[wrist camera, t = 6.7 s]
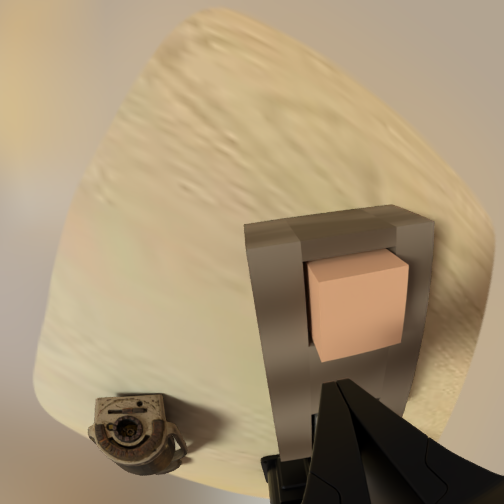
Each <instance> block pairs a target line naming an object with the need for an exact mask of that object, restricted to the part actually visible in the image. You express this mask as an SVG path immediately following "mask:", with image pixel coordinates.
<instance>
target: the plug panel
mask: <svg viewBox="0 0 504 504" xmlns="http://www.w3.org/2000/svg"><path fill="white" fill-rule="evenodd" d="M244 233H245V246H246V254H247V260H248V266H249V272H250V279H251V285H252V291H253V297H254V303H255V309H256V316H257V322H258V328H259V334H260V340H261V346H262V352H263V358H264V364H265V370H266V376H267V382H268V388H269V394H270V400H271V406H272V412H273V418H274V424H275V430H276V436H277V441H278V447H279V453H280V459H281V462H282V461H289V460H295V459H301V458H306V457H311V456H312V451H313V445H314V440H313V436H312V429H311V414H316V413H318V409H319V401H320V392H321V385H322V383H324V382H329V381H336V380H339V379H344V378H350V379H351V380H353V381H354V382H355V383H357V384H358V385H359V386H360V387H362V388H363V389H364V390H366V391H367V392H368V393H370V394H371V395H372V396H374V397H375V398H376V399H378V400H379V401H380V402H382V403H383V404H384V405H386V406H387V407H388V408H390V409H391V410H392V411H394V412H395V413H396V414H398V415H399V416H401V417H402V416H403V413H404V410H405V406H406V403H407V400H408V396H409V393H410V389H411V385H412V382H413V378H414V374H415V370H416V365H417V361H418V356H419V352H420V347H421V342H422V337H423V331H424V326H425V320H426V313H427V307H428V299H429V292H430V283H431V273H432V261H433V246H434V221H432V220H430V219H428V218H425V217H423V216H420V215H418V214H415V213H413V212H410V211H408V210H405V209H403V208H400V207H397V206H395V205H384V206H375V207H367V208H359V209H351V210H343V211H335V212H328V213H320V214H313V215H306V216H298V217H291V218H284V219H277V220H271V221H264V222H257V223H251V224H244ZM383 248H386V249H387V250H389V251H390V252H391V253H393V254H394V255H396V256H397V257H398V258H400V259H401V260H403V261H404V262H405V263H407V264H408V265H409V270H408V285H407V296H406V306H405V315H404V323H403V331H402V338H401V343H398V344H395V345H391V346H387V347H384V348H380V349H376V350H373V351H369V352H365V353H361V354H357V355H353V356H348V357H344V358H340V359H335V360H330V361H326V362H321V360H320V357H319V354H318V352H317V349H316V346H315V344H314V341H313V338H312V336H311V333H310V331H309V328H308V325H307V314H306V300H305V287H304V275H303V263H302V262H304V261H310V260H317V259H323V258H329V257H335V256H341V255H347V254H353V253H359V252H365V251H371V250H377V249H383Z"/></svg>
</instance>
